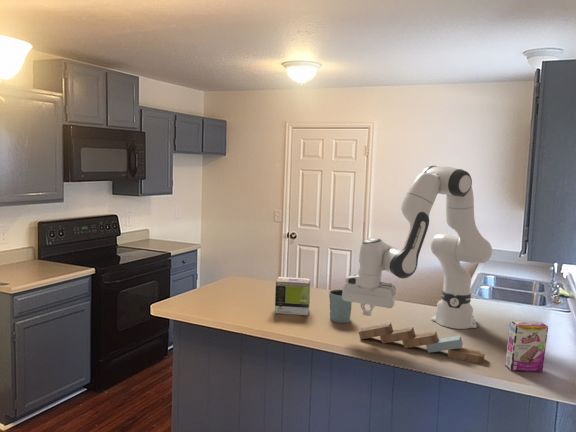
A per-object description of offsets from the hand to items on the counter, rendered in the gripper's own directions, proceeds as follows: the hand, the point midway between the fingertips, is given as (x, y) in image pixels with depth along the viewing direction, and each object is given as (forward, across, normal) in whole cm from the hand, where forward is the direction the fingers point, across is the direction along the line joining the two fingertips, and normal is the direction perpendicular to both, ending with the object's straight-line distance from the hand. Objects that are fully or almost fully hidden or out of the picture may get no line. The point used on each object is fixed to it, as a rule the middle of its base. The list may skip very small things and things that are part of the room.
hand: (366, 315), depth 190 cm
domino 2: (+8, -7, 0) cm, 10 cm away
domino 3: (+8, -15, 0) cm, 17 cm away
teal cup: (+9, +16, -16) cm, 24 cm away
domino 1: (+8, +2, 0) cm, 8 cm away
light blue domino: (+8, -24, 0) cm, 25 cm away
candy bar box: (+9, -56, 0) cm, 57 cm away
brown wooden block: (+8, -31, 0) cm, 32 cm away
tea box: (+9, +38, -15) cm, 42 cm away
